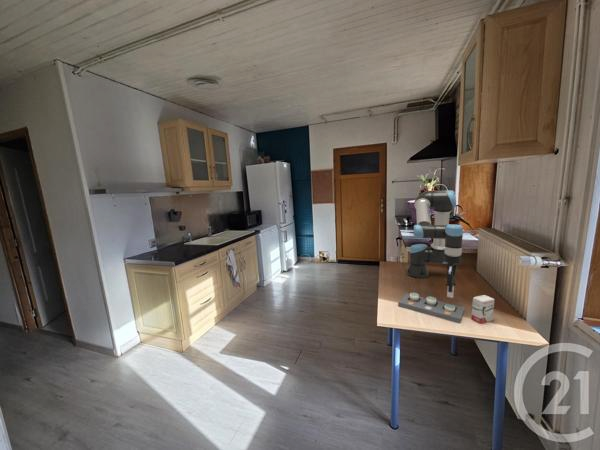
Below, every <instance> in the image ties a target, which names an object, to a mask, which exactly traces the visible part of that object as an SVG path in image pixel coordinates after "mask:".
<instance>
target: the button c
mask: <svg viewBox="0 0 600 450" xmlns="http://www.w3.org/2000/svg"><path fill="white" fill-rule="evenodd" d="M451 304H452V303H451ZM451 304H450V303H448V304H446V305H445V308H444V309H446V310H449V311H453V312H456V311H455V306H453V305H454V304H452V305H451Z"/></svg>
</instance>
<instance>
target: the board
mask: <svg viewBox="0 0 600 450" xmlns="http://www.w3.org/2000/svg"><path fill="white" fill-rule="evenodd" d="M426 300H427V297H423V296H419V301H411V300H410V293H405V294H404V295H403V296H402V298H401V299H400V300H399V301H398V302H397V304H398V307H399V308H403V309H407V310H409V311H414V312H418V313H421V314H424V315H429V316H432V317H435V318H439V319H443V320H445V321H449V322H453V323H456V324H461V322H462V319H463V317H464V313H465V307H464V306H460V305H455V304H452V303H451V305H453V306H455V312H453V311H449V310H446V309H444V308H445V305H446V304H449V303H447V302H444V301H440V300H436V305H435V306H431V305H428V304H427V303H426Z"/></svg>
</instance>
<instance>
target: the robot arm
mask: <svg viewBox="0 0 600 450" xmlns="http://www.w3.org/2000/svg"><path fill="white" fill-rule="evenodd" d="M413 205H414V209H415V212H416V214H415V216H416V224H414V225H413V237H414V238H416V239H417V238H418V239H419V238H420V239H432V240H433V241H432V243H430V246H428V245H427V244H425V243H417V244H412V245H411V246H410V247H409V264H408V267H407V270H406V275H407V274H408V275H410V276H409V277H411V276H413V277H412V278H414V277H417V278H416V279H427V278H428V277H429V275H430V273H429V269H428V265H427V263H429V264H430V263H431V264H441V265H442V264H446V269H447V270H446V284H445V286H447V291H446V292H447V293H446V298H451V299H453V298H454V291H455V286H456V285H457V284H456V273H457V268H458V265H459V264H461V262H462V254H463V253H462V252H463V237H464V236H463V235H464V226H463V225H461V224H460V225H459V224H456V223H455V224H450V214H451V213H452V212H453V209H456V207H457V198H456V193H455V191H454V190H449V189H442V190H426V191H424V192H421V193H419V195H417V196H416V198H415V199H414V203H413ZM430 209H432V211H433V212H434V224H432V222H431V221H432V220H431V213H430ZM457 264H458V265H457ZM408 275H407V276H408ZM426 277H427V278H426Z"/></svg>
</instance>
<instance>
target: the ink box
mask: <svg viewBox="0 0 600 450" xmlns="http://www.w3.org/2000/svg"><path fill="white" fill-rule="evenodd" d="M494 307H495V298H493V297H490V296H488V295H486V294H482V295H477V296H474V297H472V306H471V320H473V321H474V322H476V323H479V324H485V323H488V322H493V319H494Z"/></svg>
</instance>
